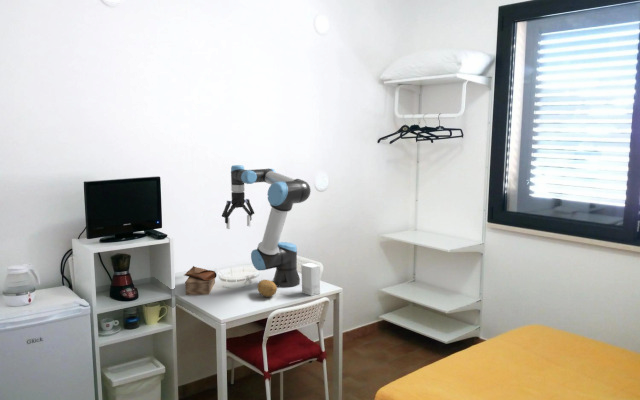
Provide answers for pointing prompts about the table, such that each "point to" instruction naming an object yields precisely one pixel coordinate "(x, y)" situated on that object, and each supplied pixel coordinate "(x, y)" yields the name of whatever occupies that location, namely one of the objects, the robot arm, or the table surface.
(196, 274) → the sunglasses case
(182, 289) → the table surface
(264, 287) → the potato
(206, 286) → the walnut box
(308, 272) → the skincare box
